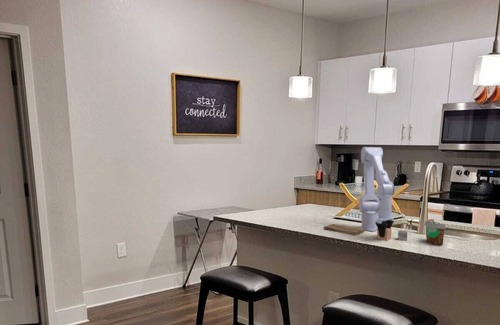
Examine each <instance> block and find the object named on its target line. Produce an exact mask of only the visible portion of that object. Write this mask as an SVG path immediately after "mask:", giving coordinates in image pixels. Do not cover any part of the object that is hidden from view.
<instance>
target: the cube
mask: <svg viewBox="0 0 500 325" xmlns="http://www.w3.org/2000/svg"><path fill="white" fill-rule="evenodd" d="M392 230H393V229H392V228H391V229H390V228H386V232H385V237H380V236H379V231H378V229H377V230H376V232H377V233H376V239H377V240H382V241H387V242H388V241H390V240H391V239H392Z"/></svg>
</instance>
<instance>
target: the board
mask: <svg viewBox="0 0 500 325" xmlns="http://www.w3.org/2000/svg"><path fill="white" fill-rule="evenodd" d="M323 230H325V231H330V232H336V233H341V234H346V235H352V236H358V235H360V234H363V233H365V230H364V229H360V227H353V226H348V225H343V224H336V223H331V224H329V225H325V226H324V227H323Z"/></svg>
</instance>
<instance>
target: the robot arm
mask: <svg viewBox="0 0 500 325" xmlns="http://www.w3.org/2000/svg"><path fill="white" fill-rule="evenodd" d="M383 155H384V152H383V148H382V147H380V146H379V147H375V146H374V147H372V146H369V147H368V146H363V147H362V148H361V150H360V160H361V163H362V164H363V171H364V172H363V174H364V175H363V176H364V178H363V180H364V182H363V183H364V186H363V187H364V194H363V195H361V196H360V197H359V202H358V209H359V212H361V227H359V228H360V229H364V231H367V232H368V231H369V232H375V231H377V229H378V231H379V236H380V237H385V232H386V228H390V229H392V226H393V225H394V222H395V219H394V217H393V215H392V207H393V206H392V204H393V203H392V202H393V195H394V194H395V190H396V189H395V185H394V183H393V182H392V181H390V178H389V175H388V172H387V171H386V170H385V169H384V165H383V162H382V161H383V160H382V159H383ZM375 171H376V173H374V172H375ZM375 179H376V183H377V194H378V195H375Z"/></svg>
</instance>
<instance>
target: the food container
mask: <svg viewBox="0 0 500 325" xmlns="http://www.w3.org/2000/svg"><path fill="white" fill-rule="evenodd" d="M434 220H435V219H433V218H431V219H426V220H425V221H424V223H423V224H424V226H425V235H426V236H425V237H426V243H428V244H429V245H435V246H442V245H443V246H444V236H445V230H446V225H445V223H443V224H442V223H439V222H437V221H434Z"/></svg>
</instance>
